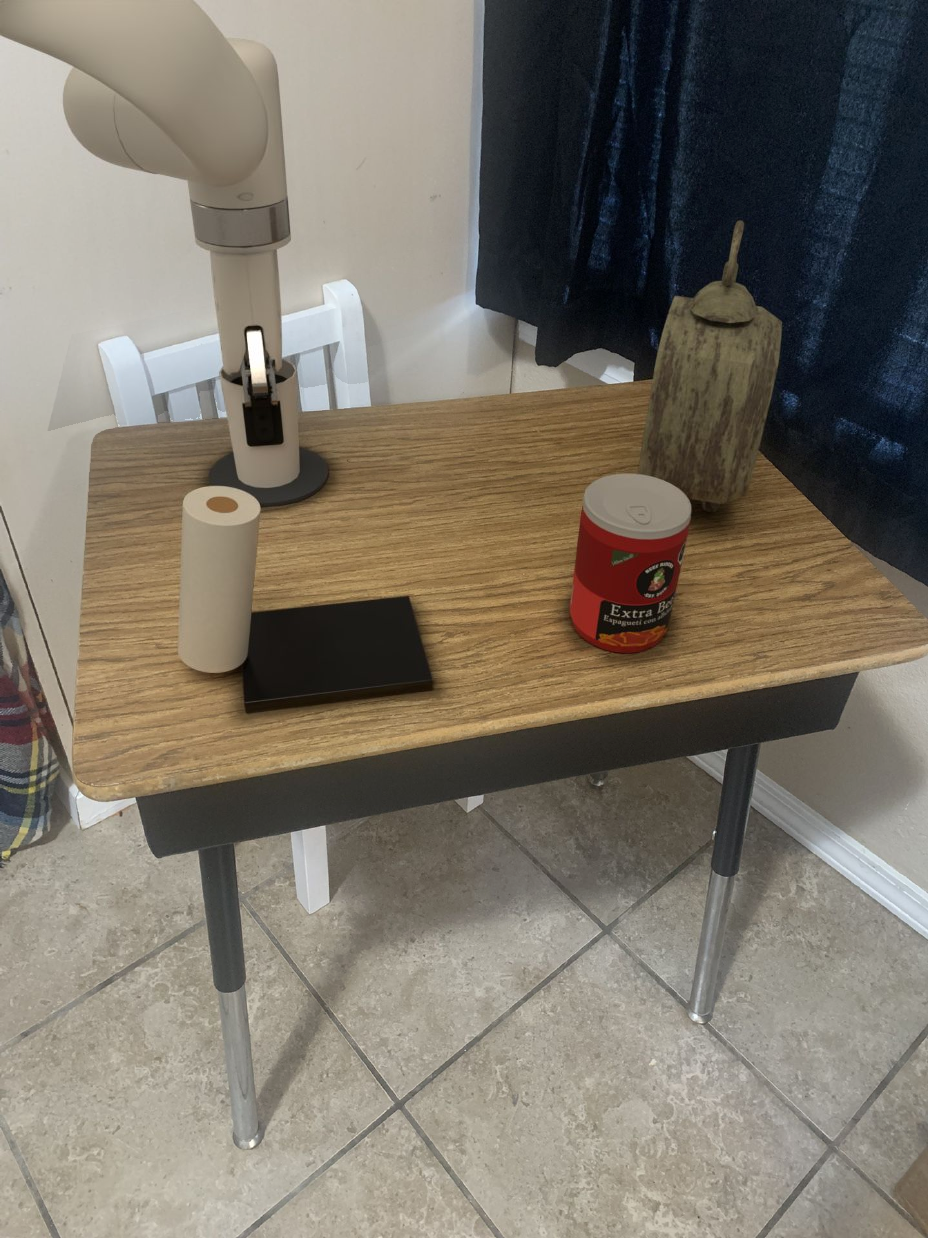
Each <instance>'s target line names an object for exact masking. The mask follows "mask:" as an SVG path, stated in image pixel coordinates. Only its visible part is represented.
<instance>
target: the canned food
mask: <svg viewBox="0 0 928 1238" xmlns="http://www.w3.org/2000/svg"><path fill="white" fill-rule="evenodd" d="M691 515H692V504H691V501H690V499H689V498H687V496H686V495H685V494H684V493H683V492H682V491H681V490H680V489H678V488H677V487H675V486H674V485H672V484H670V483H668V482H666V481H664V480H661V479H658V478H655V477H651V476H647V475H641V474H638V473H614V474H610V475H605V476H602V477H600V478H597V479H595V480H594V481H593V482H591V483H590V484H589V485H587V487H586V489H585V491H584V495H583V498H582V504H581V510H580V518H579V526H578V536H577V545H576V553H575V561H574V570H573V578H572V587H571V596H570V603H569V613H570V619H571V622H572V626H573V627H574V629H575V631H576V632H577V634H578V635H579V636H580V637H581V638H583V639H584V640H585V641H586V642H588V643H589V644H590V645H592V646H595V647H596V648H599V649H602V650H605V651H609V652H613V653H614V652H615V653H622V654H624V653H625V654H626V653H627V654H631V653H639V652H642V651H646V650H649V649H650V648H653V647H655V645H657V644H659V642H660V641H661V639H662V638H663V637H664V635H665V634H666V632H667V631H668V629H669V625H670V622H671V617H672V612H673V607H674V604H675V603H674V602H675V598H676V593H677V588H678V583H679V578H680V574H681V570H682V569H681V568H682V564H683V559H684V553H685V550H686V545H687V542H688V541H687V540H688V535H689V531H690V524H691V518H692V516H691Z"/></svg>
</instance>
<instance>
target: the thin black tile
mask: <svg viewBox="0 0 928 1238" xmlns="http://www.w3.org/2000/svg"><path fill="white" fill-rule="evenodd" d="M241 675H242V676H241V677H242V693H243V706H244V712H245V714H250V713H258V712H267V711H276V710H282V709H283V710H284V709H291V708H299V707H306V706H307V707H308V706H314V705H316V706H317V705H323V704H331V703H338V702H339V703H340V702H348V701H355V700H363V699H371V698H380V697H386V696H395V695H396V696H397V695H404V694H412V693H418V692H427V691H433V690H434V679H433V675H432V672H431V668H430V665H429V660H428V657H427V654H426V650H425V647H424V644H423V640H422V637H421V632H420V630H419V626H418V622H417V619H416V615H415V612H414V608H413V605H412V602H411V598H410V596H409V595H403V596H395V597H385V598H374V599H366V600H356V601H355V600H354V601H346V602H337V603H329V604H327V603H326V604H319V605H309V606H300V607H299V606H298V607H290V608H280V609H279V608H278V609H272V610H262V611H261V610H260V611H254V612H253V611H251V622H250V634H249V645H248V655H247V658H246V660H245V661H244V662H243V663H242V664H241Z"/></svg>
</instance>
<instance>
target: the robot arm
mask: <svg viewBox="0 0 928 1238" xmlns="http://www.w3.org/2000/svg"><path fill="white" fill-rule="evenodd" d="M0 36H1V37H3V38H4V39H8V40H10V41H13V42H14V43H17V44H19V45H22V46H25V47H28V48H31V49H33V50H35V51H38V52H40V53H43V54H45V55H48V56H50V57H52V58H53V59H57V60H58V61H61V62H63V63H65V64H67V65H69V66H72V68H71V69H70V71H69V73H68V75H67V77H66V79H65V82H64V86H63V91H62V108H63V113H64V118H65V121H66V123H67V126H68V128H69V129H70V132H71V133H72V135H73V136H74V138H75V139H76V140H77V142H78V143H79V144H80V145H81V146H82V147H83V148H84V149H85V150H87V151H88V152H89V153H90V154H92V155H93V156H95V157H96V158H99V159H100V160H102V161H104V162H106V163H108V164H112V165H114V166H118V167H121V168H124V169H125V168H126V169H131V170H134V171H139V172H144V173H147V174H153V175H161V176H165V177H171V178H173V179H178V180H183V181H187V187H188V195H189V204H190V210H191V217H192V227H193V233H194V240H195V244H196V246H199V247H200V248H201V249H204V250H206V251H209V256H210V257H209V258H210V259H209V260H210V271H211V281H212V289H213V290H212V291H213V299H214V306H215V314H216V323H217V328H218V337H219V338H218V339H219V344H220V345H219V346H220V353H221V361H222V367H223V370H224V372H225V373H227V374H228V375H232V373H239V370H240V367H241V375H242V382H243V390H244V399H245V403H242V407H243V415H244V423H245V432H246V440H247V445H248V446H250V447H254V446H268V445H280V444H282V443H283V442H284V437H283V426H282V416H281V405H280V400H279V401H277V392H276V382H275V371H276V372H278V371H279V370H280V369H281V368H282V359H283V323H282V321H283V319H282V299H281V285H280V271H279V260H278V259H279V258H278V249H281V248H283V247H285V246H287V245H289V243H290V242H291V240H292V234H291V223H290V222H291V221H290V207H289V197H288V183H287V172H286V170H287V169H286V158H285V144H284V131H283V119H282V118H283V117H282V105H281V92H280V91H281V89H280V79H279V71H278V64H277V60H276V57H275V55H274V53H273V52H272V51H271V49H270V48H269V47H267V46H266V45H265V44H263V43H261V42H258V41H255V40H253V39H252V40H251V39H246V38H236V37H225V35H224V34H223V33H222V31H221V30H220V29H219V28H218V26H217V25H216V24H215V22H214V21H213V20H212V18H211V17H210V16H209V14H207V13H206V12H205V11H204V10H203V8H202V7H201V6H200V5H199V4H198V3H197V2H196V1H195V0H0ZM265 361H266V365H268V364H269V367H266V365H265ZM247 362H250V365H248V368H245V366H246V367H247ZM267 375H269V382H268V383H267V378H266V376H267ZM250 376H251V379H252V384H250V385H249V380H248V377H250ZM250 397H251V398H250ZM251 402H252V404H251Z"/></svg>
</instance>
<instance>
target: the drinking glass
mask: <svg viewBox="0 0 928 1238" xmlns="http://www.w3.org/2000/svg"><path fill="white" fill-rule="evenodd" d="M248 365H250V362H247V367H246V366H245V368H248ZM265 365H266V361H265ZM266 367H269V364H268V365H266ZM218 374H219V380H220V386H221V391H222V397H223V403H224V408H225V414H226V419H227V420H226V421H227V425H228V430H229V431H228V432H229V438H230V442H231V448H232V452H233V453H234V459H235V464H236V470H237V475H238V478H239V480H240V481H242V482H243V483H244V484H247V485H250V486H253V487H260V488H271V487H278V486H282V485H285V484H288V483H290V482H292V481H293V480H294V479H296V478H297V477H298V474H299V472H300V464H299V447H300V436H299V435H300V433H299V409H298V408H299V405H298V403H299V402H298V373H297V368H296V366H295V364H294V363H292V362H291V361H289V360H287V359H285V358H282V368H281V369H280V370H279V371H278V372H276V371H275V382H276V392H277V401H279V400H280V405H281V416H282V426H283V437H284V442H283V443H282V444H280V445H268V446H254V447H250V446H248V445H247V440H246V432H245V423H244V415H243V407H242V403H245V399H244V390H243V382H242V375H241V367H240V370H239V373H232V375H228V374H227V373H225V372H224V370H223V366H222V367H221V368H220V370H219V371H218ZM266 378H267V383H268V382H269V375H267V376H266ZM248 380H249V385H250V384H252V379H251V376H250V377H248ZM250 398H251V397H250ZM251 404H252V402H251Z"/></svg>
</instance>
